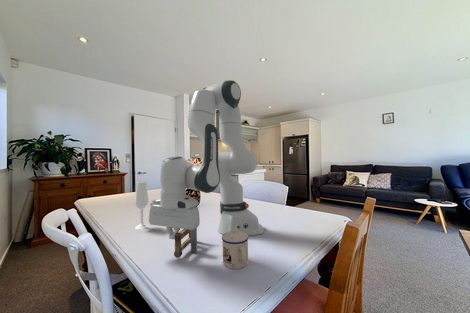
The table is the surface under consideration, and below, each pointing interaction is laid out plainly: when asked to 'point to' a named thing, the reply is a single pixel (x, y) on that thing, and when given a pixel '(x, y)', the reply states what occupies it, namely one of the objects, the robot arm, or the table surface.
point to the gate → (178, 245)
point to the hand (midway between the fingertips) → (173, 238)
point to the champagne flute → (141, 201)
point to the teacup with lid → (235, 249)
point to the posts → (193, 240)
